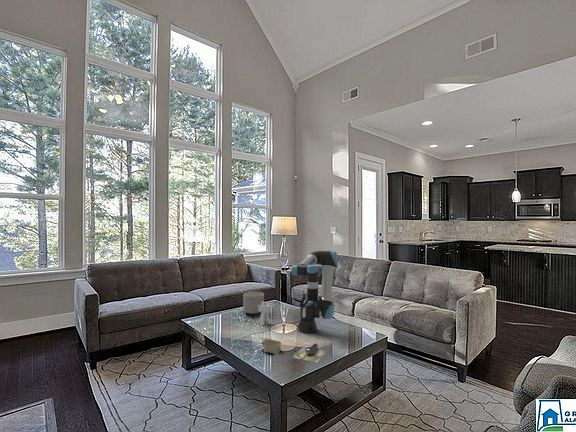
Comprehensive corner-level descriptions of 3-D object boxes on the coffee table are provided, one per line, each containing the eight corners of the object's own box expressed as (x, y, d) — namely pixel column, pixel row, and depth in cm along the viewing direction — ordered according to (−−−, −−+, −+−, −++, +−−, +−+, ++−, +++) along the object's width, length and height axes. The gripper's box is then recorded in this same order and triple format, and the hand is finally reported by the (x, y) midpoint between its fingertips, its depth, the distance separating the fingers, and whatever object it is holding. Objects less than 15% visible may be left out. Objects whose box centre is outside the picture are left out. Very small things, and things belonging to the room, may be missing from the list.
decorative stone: (262, 348, 218) (262, 336, 218) (282, 351, 213) (282, 338, 213) (257, 353, 210) (257, 340, 210) (278, 356, 205) (278, 343, 206)
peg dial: (308, 360, 196) (308, 355, 196) (299, 358, 199) (299, 353, 199) (320, 348, 213) (320, 344, 213) (311, 347, 216) (312, 342, 216)
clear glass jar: (269, 326, 262) (270, 304, 262) (255, 324, 266) (255, 302, 267) (275, 322, 273) (275, 300, 274) (260, 320, 278) (260, 299, 278)
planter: (243, 310, 306) (243, 291, 306) (263, 310, 308) (263, 291, 308) (242, 316, 287) (243, 296, 287) (264, 316, 289) (264, 296, 289)
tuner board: (290, 358, 202) (290, 356, 202) (302, 347, 218) (302, 345, 219) (317, 364, 193) (317, 362, 193) (327, 353, 210) (327, 350, 210)
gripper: (294, 286, 224) (294, 316, 223) (325, 291, 209) (325, 323, 208) (300, 284, 230) (300, 314, 229) (331, 289, 215) (331, 321, 215)
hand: (312, 318), depth 219 cm, fingers open, 13 cm apart
